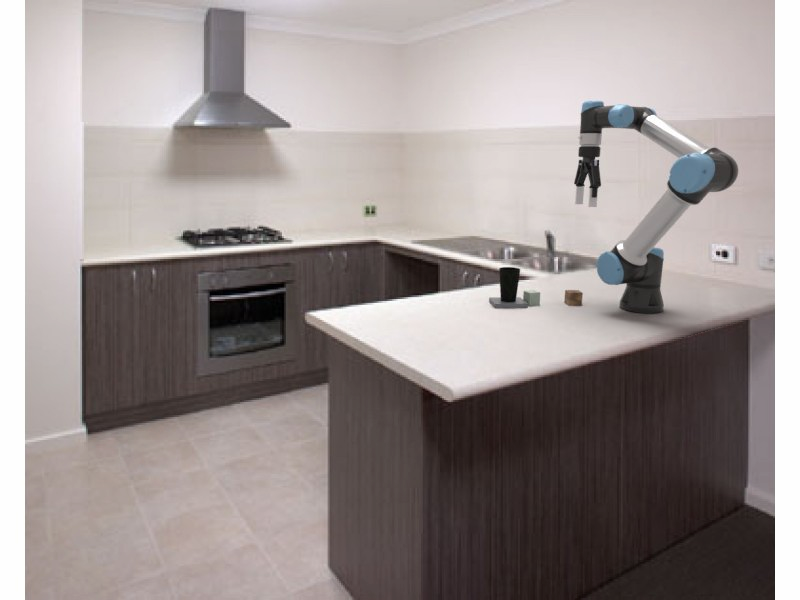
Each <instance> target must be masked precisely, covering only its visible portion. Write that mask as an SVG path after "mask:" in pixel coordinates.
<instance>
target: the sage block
mask: <svg viewBox="0 0 800 600" xmlns="http://www.w3.org/2000/svg"><path fill="white" fill-rule="evenodd" d="M522 296H523V297H522V299H523V300H524V301H525V302H527V303H528V307H536V306H540V303H541V292H540V291H538V290H535V289H531V290H530V289H529V290H523V295H522Z"/></svg>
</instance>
